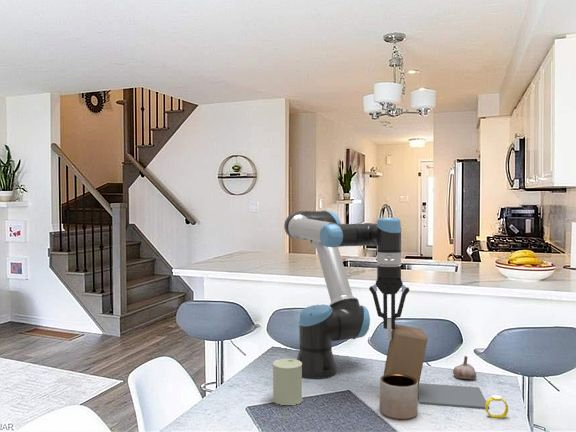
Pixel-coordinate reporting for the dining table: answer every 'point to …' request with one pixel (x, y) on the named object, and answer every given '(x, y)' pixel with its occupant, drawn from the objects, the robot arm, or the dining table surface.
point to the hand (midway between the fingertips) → (389, 338)
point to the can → (287, 381)
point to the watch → (496, 398)
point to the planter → (398, 396)
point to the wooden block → (406, 351)
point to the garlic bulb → (464, 371)
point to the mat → (451, 396)
